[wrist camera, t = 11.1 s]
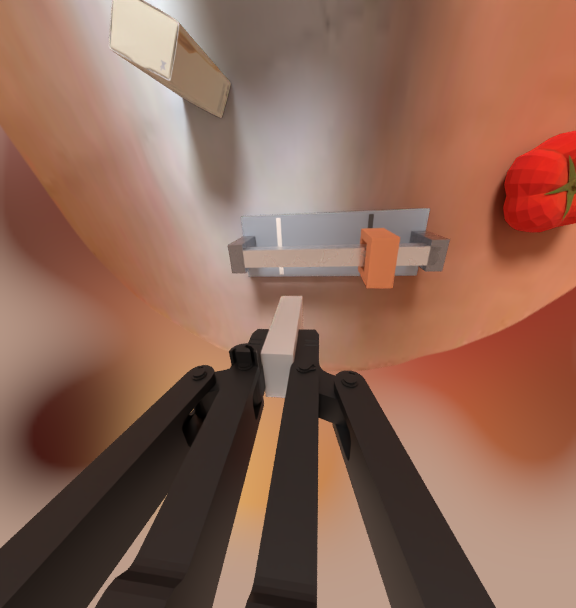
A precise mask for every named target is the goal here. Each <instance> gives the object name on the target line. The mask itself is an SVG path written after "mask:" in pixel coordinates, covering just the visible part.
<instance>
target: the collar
mask: <svg viewBox="0 0 576 608" xmlns="http://www.w3.org/2000/svg"><path fill="white" fill-rule="evenodd" d="M399 243H400V237H399V236H397V235H395V234H393V233H392V232H390V231H388V230H386V229H385V228H364V229H361V238H360V244H367V247H366V258H365V266H358V271H359V273H360V275H361V277H362V279H363V281H364V283H365V286H366V288H393V282H394V275H395V269H396V262H397V256H398V249H399Z"/></svg>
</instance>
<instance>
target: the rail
mask: <svg viewBox="0 0 576 608" xmlns="http://www.w3.org/2000/svg"><path fill="white" fill-rule="evenodd" d="M449 241H450V239H447V238H445V237H442V236H439V235H437V234H434V233H431V232H429V231H426V230H423V231H411V236H410V241H409V243H399V249H398V256H397V262H396V266H419V267H420V268H422V269H423V270H424V271H442V270H443V266H444V262H445V257H446V253H447V249H448V245H449ZM366 247H367V244H348V245H307V246H266V247H256V239H255V236H243V237H241V238H239V239H237V240H236V241H234V242H232V243H231V244H229V245H228V250H229V256H230V262H231V269H232V273H246V272H247V271H248V270H249V269H250V268H262V267H342V266H365V258H366Z"/></svg>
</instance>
